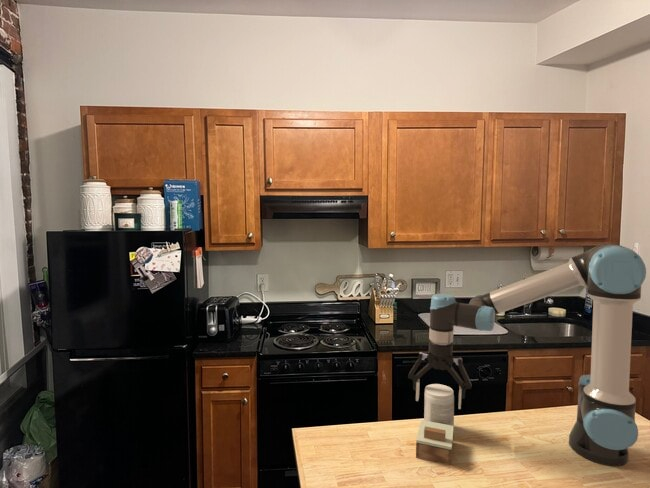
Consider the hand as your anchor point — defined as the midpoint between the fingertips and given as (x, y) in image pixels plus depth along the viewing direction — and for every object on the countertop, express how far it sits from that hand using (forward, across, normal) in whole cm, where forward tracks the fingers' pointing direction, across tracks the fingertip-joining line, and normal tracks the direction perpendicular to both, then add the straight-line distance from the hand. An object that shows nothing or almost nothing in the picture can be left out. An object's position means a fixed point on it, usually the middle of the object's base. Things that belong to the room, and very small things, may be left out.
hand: (438, 403), depth 131 cm
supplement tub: (+10, 0, 0) cm, 10 cm away
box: (+10, 0, +12) cm, 16 cm away
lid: (+4, 0, +12) cm, 13 cm away
